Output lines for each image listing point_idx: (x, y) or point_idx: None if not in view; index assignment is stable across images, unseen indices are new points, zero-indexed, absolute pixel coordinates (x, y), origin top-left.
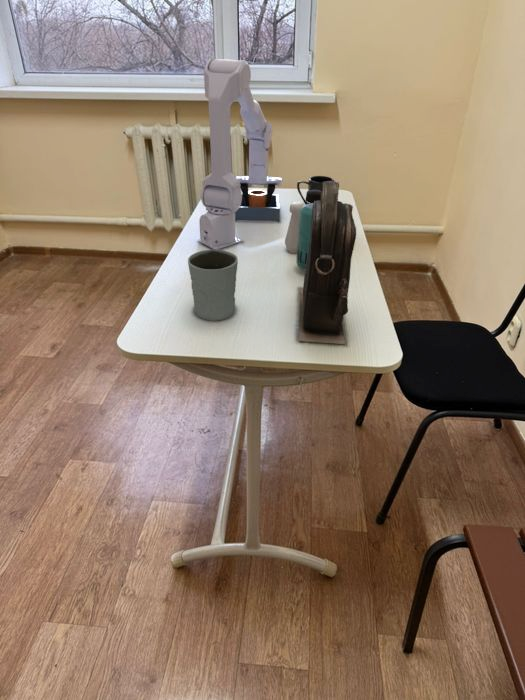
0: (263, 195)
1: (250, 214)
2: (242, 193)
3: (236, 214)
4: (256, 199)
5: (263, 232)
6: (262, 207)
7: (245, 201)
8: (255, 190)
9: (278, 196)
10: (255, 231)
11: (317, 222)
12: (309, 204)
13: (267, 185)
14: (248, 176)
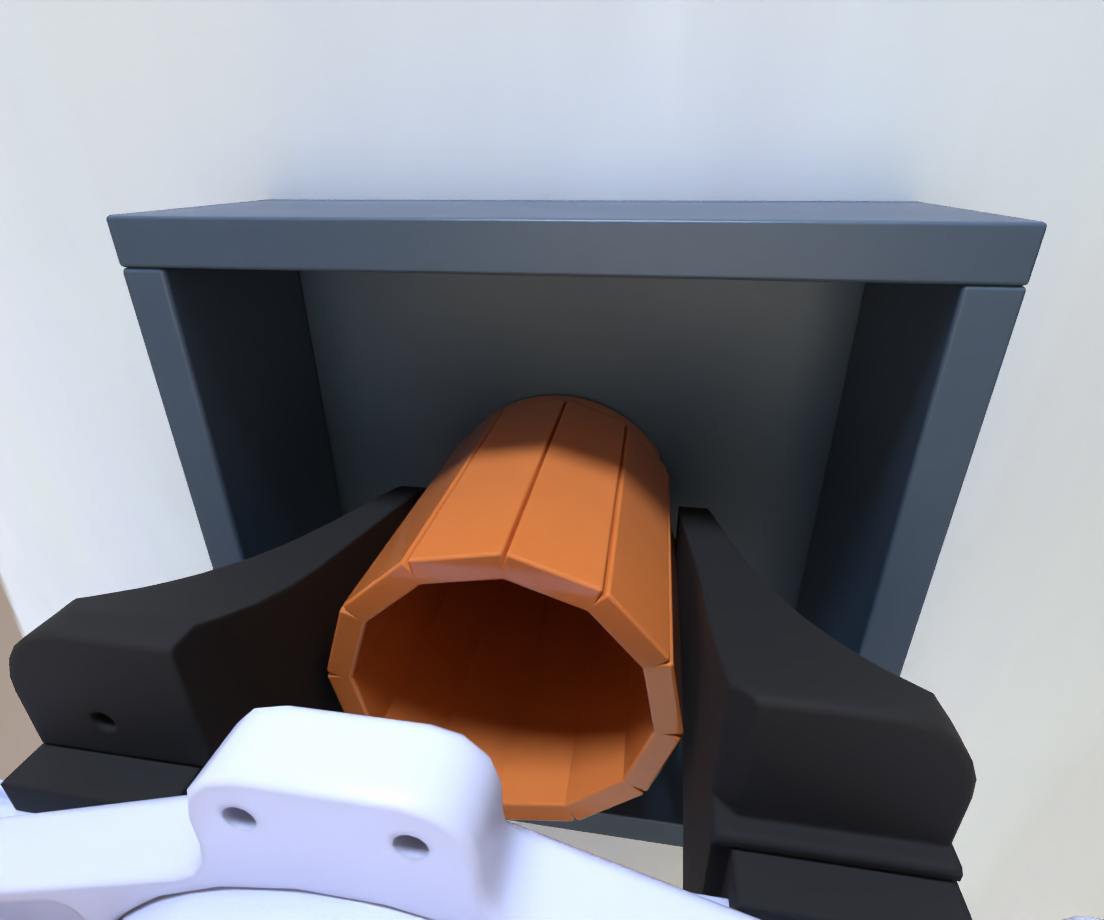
0: (613, 796)
1: None
2: (205, 222)
3: None
4: (505, 754)
5: (617, 856)
6: (602, 822)
7: None
8: (444, 578)
9: (991, 384)
10: (552, 835)
11: None
12: None
13: (708, 879)
14: (35, 887)
